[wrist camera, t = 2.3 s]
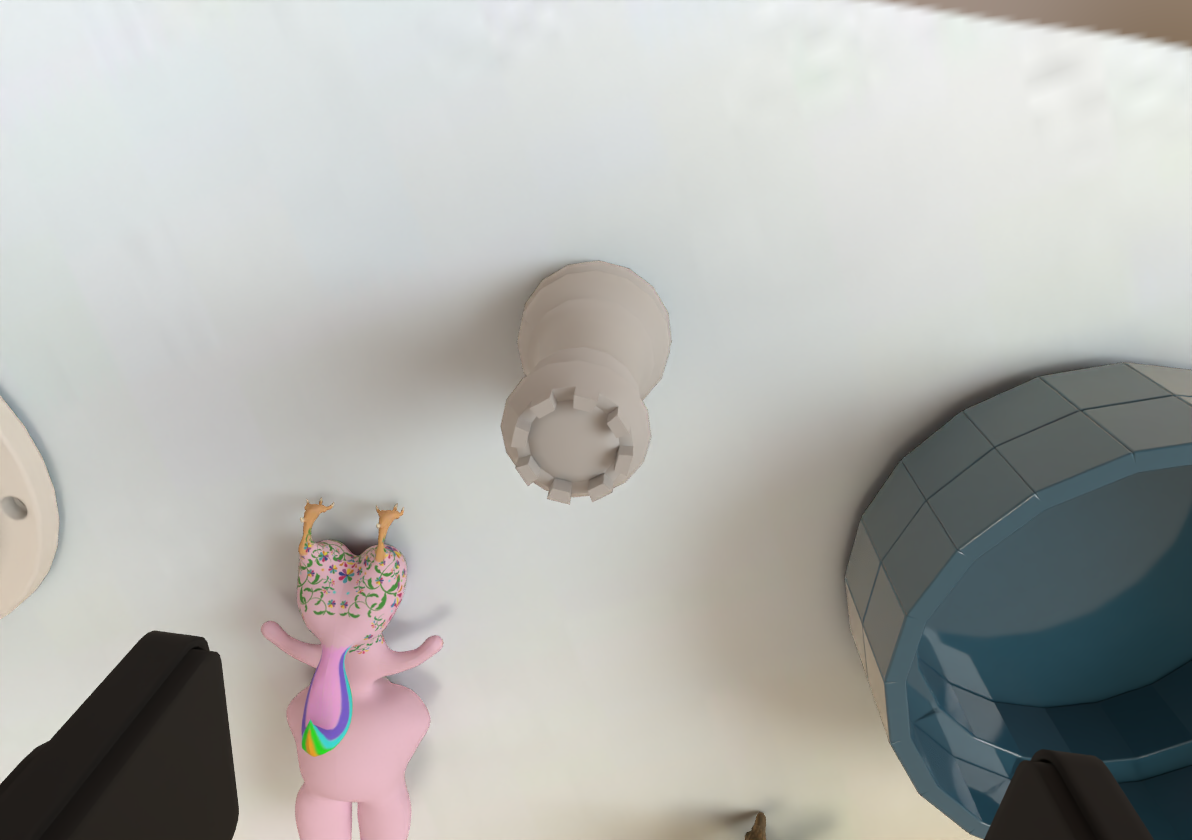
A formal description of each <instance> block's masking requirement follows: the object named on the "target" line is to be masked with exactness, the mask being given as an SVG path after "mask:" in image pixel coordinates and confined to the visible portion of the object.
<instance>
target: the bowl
mask: <svg viewBox="0 0 1192 840" xmlns="http://www.w3.org/2000/svg"><path fill="white" fill-rule="evenodd" d="M845 586H846V595H847V604H848V613H849V622H850V630H851V633H852V636H853V639H854V642H855V645H856V648H857V650H858V653H859V656H860V659H861V662H862V665H863V668H864V671H865V673H866V676H867V679H868V682H869V685H870V688H871V691H872V694H873V697H874V700H875V703H876V705H877V708H878V711H879V714H880V717H881V720H882V723H883V725H884V728H885V731H886V734H887V737H888V740H889V743H890V745H891V747H892V748H893V750H894V752H895V753H896V755H897V757H898V759H899V760H900V762H901V764H902V766H903V767H904V769H905V771H906V773H907V774H908V776H909V778H910V780H911V781H912V783H913V785H914V787H915V788H916V790H917V792H918V793H919V794H920V795H921V796H922V797H923V798H925V799H926V800H927V801H928V802H930V803H931V804H932V805H934V806H935V807H936V808H937V809H939V810H940V811H941V812H942V813H944V814H945V815H946V816H947V817H949V818H950V819H951V820H952V821H954V822H955V823H956V824H957V825H959V826H960V827H961V828H962V829H964V830H965V831H966V832H968V833H969V834H971V835H973V836H976V837H978V838H981V839H984V838H985V836H986V834H987V832H988V830H989V827H990V825H991V823H992V821H993V819H994V816H995V814H996V812H997V810H998V808H999V806H1000V803H1001V801H1002V799H1003V797H1004V795H1005V792H1006V790H1007V788H1008V786H1009V784H1010V781H1011V779H1012V777H1013V775H1014V773H1015V771H1016V768H1017V767H1018V765H1019V764H1020V762H1022V761H1024V760H1029V761H1030V760H1031V758H1032V757H1033V755H1034V754H1035V753H1036V752H1037V751H1039V750H1041V749H1046V750H1054V751H1062V752H1069V753H1077V754H1084V755H1092V756H1096V757H1097V758H1099V759H1100V760H1102V761H1103V762H1104V764H1105V765H1106V766H1107V767H1108V769H1109V770H1110V772H1111V773H1112V775H1113V776H1114V778H1115V779H1116V781H1117V783H1118V784H1119V786H1120V787H1121V789H1122V790H1123V792H1124V794H1125V795H1126V797H1127V798H1128V800H1129V801H1130V803H1131V804H1132V806H1133V808H1134V809H1135V811H1136V812H1137V814H1138V815H1139V817H1140V819H1141V820H1142V822H1143V823H1144V825H1145V826H1146V828H1147V830H1148V831H1149V833H1150V834H1151V836H1152V837H1153V839H1154V840H1192V370H1189V369H1180V368H1171V367H1163V366H1154V365H1145V364H1137V363H1128V362H1123V363H1115V364H1109V365H1103V366H1097V367H1091V368H1085V369H1079V370H1073V371H1067V372H1061V373H1055V374H1049V375H1043V376H1040V377H1036V378H1034V379H1032V380H1030V381H1027V382H1025V383H1023V384H1021V385H1018V386H1016V387H1014V388H1012V389H1009V390H1007V391H1005V392H1003V393H1001V394H998V395H996V396H994V397H992V398H989V399H987V400H985V401H983V402H980V403H978V404H976V405H974V406H972V407H969V408H967V409H965V410H963V412H960V413H958V414H957V415H956V416H955V417H953V418H952V419H951V420H950V421H948V422H947V423H946V424H945V425H943V426H942V427H941V428H940V429H939V430H937V431H936V432H935V433H934V434H932V435H931V436H930V437H929V438H927V439H926V440H925V441H924V442H922V443H921V444H920V445H919V446H918V447H916V448H915V449H914V450H913V451H911V452H910V453H909V454H908V455H906V456H905V457H904V458H903V459H902V461H900V462H899V463H898V464H897V466H896V467H895V469H894V470H893V472H892V473H891V475H890V476H889V477H888V479H887V480H886V482H885V483H884V485H883V486H882V488H881V489H880V490H879V492H878V493H877V495H876V496H875V498H874V499H873V501H872V502H871V503H870V505H869V506H868V508H867V509H866V511H865V512H864V514H863V515H862V517H861V520H860V523H859V527H858V530H857V534H856V538H855V541H854V545H853V548H852V552H851V555H850V559H849V563H848V566H847V570H846V573H845Z"/></svg>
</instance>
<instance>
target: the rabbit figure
mask: <svg viewBox="0 0 1192 840" xmlns="http://www.w3.org/2000/svg"><path fill="white" fill-rule="evenodd" d="M322 502H323V500H322V497H321V499H320V501H319V505H318V504H309V501H308V500H307V505H306V506H305V510H306V511H305V513H304V518H301V517H300V520H301V522H304V526H303V537H302V540H301V543H300V545H299V550H298V552H299V554H300V558H299V569H298V583H297V603H298V608H299V611H300V614H301V617H302V619H303V621H304V623H305V624H306V626H307V628H308V629H309V630H310V631H311V632H312V633H313V634H314V635H315V636H316V637H317V638H318V639H319V640H320V641H321V644H318V645H317V644H309V643H305V642H302V641H299V640H296V639H294V638H292V637H291V636H289V635H288V634H287V633H286V632H285V631H284V630H283V629H282V628H281V626H280V625H279V624H277V623H276V622H273V621H267V622H265V623H264V624H263V625H262V627H261V632H262V634H263V635H264V636H265V637H266V638H267V639H268V640H269V641H271V642H272V643H273V644H275V645H276V646H277V647H279V648H280V649H281V650H282V651H284V652H285V653H287V654H288V655H290V656H292V657H293V658H295V659H297V660H299V661H301V662H304V663H306V664H308V665H310V666H312V667H314V668H317V669H316V671H315V673H314V676H313V678H312V681H311V684H310V686H308V687H306V688H305V689H304V690H302V691H301V692H300V693H299V694H298V695H297V696H296V697H294V699H293V700H292V701H291V702H290V704H289V706H288V708H287V720H288V724H289V726H290V729H291V731H292V734H293V736H294V738H295V741H296V745H297V752H298V761H299V767H300V771H301V774H302V777H303V779H304V781H305V782H304V783H303V785H302V787H301V788H300V790H299V792H298V795H297V798H296V804H295V816H296V824H297V828H298V832H299V836H300V839H301V840H351V830H352V802H358V823H359V829H360V839H361V840H407V837H408V834H409V830H410V821H411V802H410V798H409V793H408V790H407V787H406V783H405V770H406V767H407V764H408V762H409V760H410V759H411V757H412V755H413V754H414V752H415V750H416V748H417V747H418V745H419V743H420V742H421V740H422V738H423V737H424V735H425V734H426V732H427V730H428V728H429V726H430V715H429V712H428V709H427V708H426V706H425V704H424V703H423V701H422V700H421V699H420V697H419V696H418V695H417V694H416V693H415V692H414V691H412V690H411V689H409V688H407V687H404V686H401V685H398V684H393V683H391V682H390V681H389V679H388V678H386V677H385V676H389V675H393V674H397V673H400V672H402V671H405V670H408V669H411V668H413V667H416V666H418V665H420V664H421V663H423V662H424V661H426V660H427V659H429V658H430V657H432V656H433V655H434V654H436V653H437V652H439V651H440V650H441V648H442V647H443V640H442V638H441V637H439V636H436V635H434V636H431V637H429V638H428V639H426V641H425V642H424V643H423V644H422V645H421V646H420V647H418V648H417V649H414V650H411V651H405V652H396V651H392V650H391V649H390V648H389V647H388V646H387V644H386V642H385V640H384V638H383V635H382V631H383V630H384V629H385V628H386V626H387V625H388V623H389V622H390V620H391V619H392V617H393V615H394V614H395V612H396V610H397V608H398V606H399V604H400V602H401V600H402V597H403V594H404V591H405V586H406V579H407V565H406V561H405V558H404V556H403V555H402V553H401V552H400V551H399V550H397V549H396V548H394V547H393V546H390V545H386V544H384V541H385V537H386V533H387V530H388V528H389V526H390V525H391V523H392V521H393V520H394V519H398V518H399V516H402V515H403V512H404V507H403V508H402V510H401V513H399V512H398V511H396V510H397V504H398V503H397V504H396V505H395V506H394V509H393V511H391V510H381V511H380V510H379V508H378V507H377V505H376V511H377V512H378V513H379V514H378V515H379V517H380V518H379V524H377V526H376V527H377V528H379V536H378V545H374V546H371V547H369V548H368V549H366V550H365V551H364V552H363V553H362V554H361V555H358V556H357V555H354V554H353V553H352V552H351V551H350V550H349V549H348V548H347V547H346V546H345V545H344V544H343V543H341V542H339V541H336V540H324V541H320V542H317V543H315V542H314V541H313V540H312V537H311V529H312V525H313V523H314V521H315V520H316V519H317V517H318V516H319V514H320V513H322V512H326V510H329V509H331V508H332V507H333V506H334V502H333V503H332V504H331V505H330V506H328V507H325V506H324V505H322Z"/></svg>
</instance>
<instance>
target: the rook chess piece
mask: <svg viewBox="0 0 1192 840" xmlns="http://www.w3.org/2000/svg"><path fill="white" fill-rule="evenodd" d="M671 342H672V340H671V331H670V323H669V314H668V311H667V310H666V308H665V306H664V304H663V303H662V301H661V299H660V297H659V296H658V294H657V292H656V291H655V289H654V287H653V286H652V285H650V284H649V283H648V282H646V281H645V280H644V279H642V278H641V277H640V276H638V275H637V274H636V273H634V272H633V271H632V270H630V269H629V268H625V267H622V266H618V265H614V264H610V263H606V262H603V261H592V262H584V263H577V264H569V265H567V266H565V267H564V268H562V269H560V270H558V271H557V272H555V273H553V274H552V275H550V276H548V277H547V278H545V279H543V280H542V281H541V283H540V284H539V285H538V287H537V288H536V290H535V291H534V292H533V294H532V295H531V296H530V298H529V299H528V300H527V302H526V303H525V307H524V312H523V316H522V321H521V325H520V330H519V334H518V339H517V344H518V349H519V354H520V359H521V364H522V369H523V371H524V373H525V375H526V377H524V378H523V379H522V380H521V381H520V383H519V384H518V385H517V387H516V388H515V389H514V391H513V392H512V393H511V395H510V396H509V397H508V398H507V400H506V404H505V408H504V413H503V417H502V422H501V430H502V435H503V440H504V444H505V449H506V453H507V454H508V455H509V457H510V458H511V460H512V461H513V463H514V464H515V465H516V467H515V469H516V470H517V471H518V473H519V474H520V476H521V477H522V478H523V480H524V481H525V483H526V484H527V486H529V485H530V484H531V483H533V482H534V483H535V484H537V485H538V486H540V487H541V488H543V489H544V490H546V491H549V493H548V497H547V499H549V500H553V501H557V502H561V503H565V504H569V505H570V499H571V497H580V496H590V498H591V500H592V502H594V501H596V500H598V499H600V498H602V497H604V496H606V495H608V494H610V493H612V492H613V488H615V487H617V486H619V485H621V484H623V483H625V482H626V481H627V480H628V479H629V478H630V477H631V476H632V475H633V474H634V472H635V471H636V470H637V469H638V468H639V467H640V466H641V464H642V463H643V462H644V459H645V456H646V453H647V449H648V446H649V443H650V440H651V430H650V423H649V415H648V409H647V408H646V406H645V404H644V403H643V400H644V399H645V397H646V396H647V395H648V394H649V393H650V391H651V390H652V389H653V388H654V387H655V386H656V384H657V383H658V382H659V381H660V380H661V378H662V375H663V372H664V369H665V366H666V362H667V359H668V356H669V353H670V345H671Z"/></svg>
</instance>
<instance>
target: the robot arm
mask: <svg viewBox="0 0 1192 840" xmlns="http://www.w3.org/2000/svg"><path fill="white" fill-rule="evenodd" d="M58 533H59V514H58V508H57V502H56V496H55V490H54V487H53V484H52V481H51V479H50V476H49V473H48V471H47V468H46V465H45V463H44V460H43V458H42V456H41V454H40V452H39V451H38V449H37V447H36V445H35V444H34V442H33V440H32V438H31V437H30V435H29V433H28V431H27V430H26V428H25V426H24V425H23V424H22V422H21V421H20V420H19V419H18V417H17V416H16V415H15V413H14V412H13V411H12V410H11V408H10V407H9V406H8V405H7V403H6V402H5V401H4V400H3V398H2V397H1V396H0V619H2V618H3V617H5V616H6V615H8V614H10V613H11V612H12V611H13V610H14V609H16V608H17V607H18V606H19V605H20V604H21V603H22V602H23V601H25V600H26V599H27V598H28V597H29V596H30V595H31V594H32V593H34V592H35V591H36V590H37V588H38V587H39V585H40V584H41V582H42V581H43V579H44V578H45V576H46V575H47V574H48V572H49V571H50V568H51V565H52V562H53V559H54V556H55V553H56V550H57V547H58ZM238 815H239V806H238V797H237V789H236V781H235V772H234V764H233V755H232V747H231V739H230V730H229V722H228V713H227V705H226V696H225V688H224V680H223V671H222V663H221V658H220V655H219V654H218V653H217V652H213V651H209V647H208V643H207V641H206V640H205V639H204V638H203V637H198V636H191V635H183V634H176V633H168V632H161V631H152V632H149V633H147V634H146V635H145V636H144V637H142V638H141V639H140V640H139V641H138V642H137V644H136V645H135V646H134V647H133V648H132V649H131V650H130V651H129V653H128V654H127V655H126V656H125V657H124V658H123V659H122V660H121V661H120V663H119V664H118V665H117V666H116V667H115V668H114V669H113V670H112V672H111V673H110V674H109V675H108V676H107V677H106V678H105V679H104V680H103V682H102V683H101V684H100V685H99V686H98V687H97V688H96V689H95V691H94V692H93V693H92V694H91V695H90V696H89V697H88V698H87V699H86V701H85V702H84V703H83V704H82V705H81V706H80V707H79V708H78V710H77V711H76V712H75V713H74V714H73V715H72V716H71V717H70V718H69V720H68V721H67V722H66V723H65V724H64V725H63V726H62V727H61V729H60V730H59V731H58V732H57V733H56V734H55V735H54V736H53V737H52V739H51V740H50V741H48V742H46V743H44V744H42V745H40V746H38V747H36V748H35V749H34V750H33V751H32V752H31V753H30V754H29V755H28V756H26V757H25V758H24V759H23V760H22V761H21V762H20V763H19V764H18V766H17V767H16V768H15V769H14V770H13V771H12V772H11V773H10V774H9V775H8V777H7V778H6V779H5V780H4V781H3V782H2V783H1V784H0V840H232V838H233V835H234V832H235V830H236V826H237V822H238ZM984 840H1154V839H1153V837H1152V836H1151V834H1150V833H1149V831H1148V830H1147V828H1146V826H1145V825H1144V823H1143V822H1142V820H1141V819H1140V817H1139V815H1138V814H1137V812H1136V811H1135V809H1134V808H1133V806H1132V804H1131V803H1130V801H1129V800H1128V798H1127V797H1126V795H1125V794H1124V792H1123V790H1122V789H1121V787H1120V786H1119V784H1118V783H1117V781H1116V779H1115V778H1114V776H1113V775H1112V773H1111V772H1110V770H1109V769H1108V767H1107V766H1106V765H1105V764H1104V762H1103V761H1102V760H1100V759H1099V758H1097V757H1096V756H1092V755H1084V754H1077V753H1069V752H1062V751H1054V750H1046V749H1041V750H1039V751H1037V752H1036V753H1035V754H1034V755H1033V757H1032V758H1031V760H1030V761H1029V760H1024V761H1022V762H1020V764H1019V765H1018V767H1017V768H1016V771H1015V773H1014V775H1013V777H1012V779H1011V781H1010V784H1009V786H1008V788H1007V790H1006V792H1005V795H1004V797H1003V799H1002V801H1001V803H1000V806H999V808H998V810H997V812H996V814H995V816H994V819H993V821H992V823H991V825H990V827H989V830H988V832H987V834H986V836H985V838H984Z"/></svg>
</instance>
